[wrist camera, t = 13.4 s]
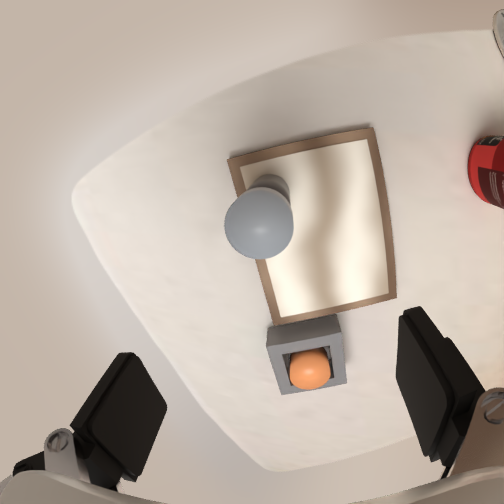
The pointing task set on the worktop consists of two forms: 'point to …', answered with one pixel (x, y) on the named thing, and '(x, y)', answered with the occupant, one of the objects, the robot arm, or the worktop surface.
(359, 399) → the worktop surface
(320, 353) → the button
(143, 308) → the worktop surface
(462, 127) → the worktop surface
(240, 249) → the grey tall cylinder
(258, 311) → the worktop surface
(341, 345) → the button housing
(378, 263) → the board
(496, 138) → the canned food
